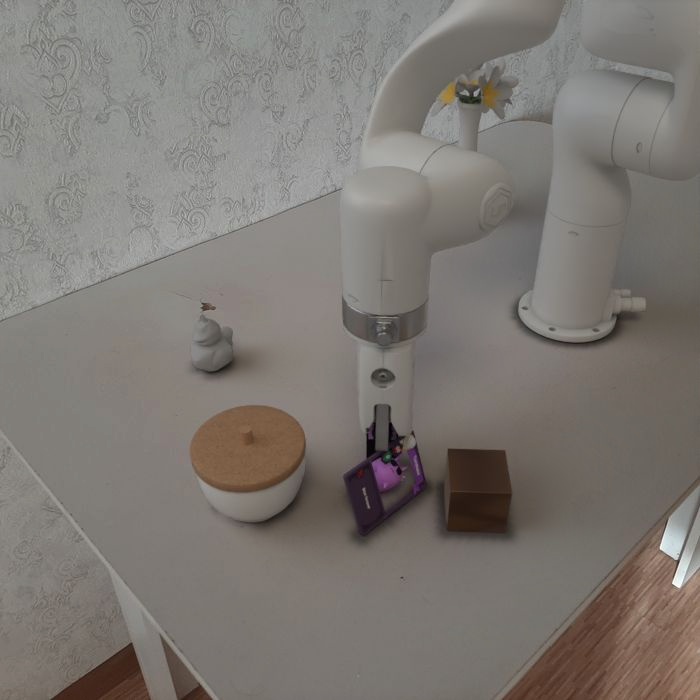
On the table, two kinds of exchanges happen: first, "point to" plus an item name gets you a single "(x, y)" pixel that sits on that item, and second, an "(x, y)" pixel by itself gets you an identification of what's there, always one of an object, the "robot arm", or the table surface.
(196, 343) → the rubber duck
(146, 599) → the table surface
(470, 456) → the walnut block
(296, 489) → the trinket box
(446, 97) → the flower vase
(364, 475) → the game card
